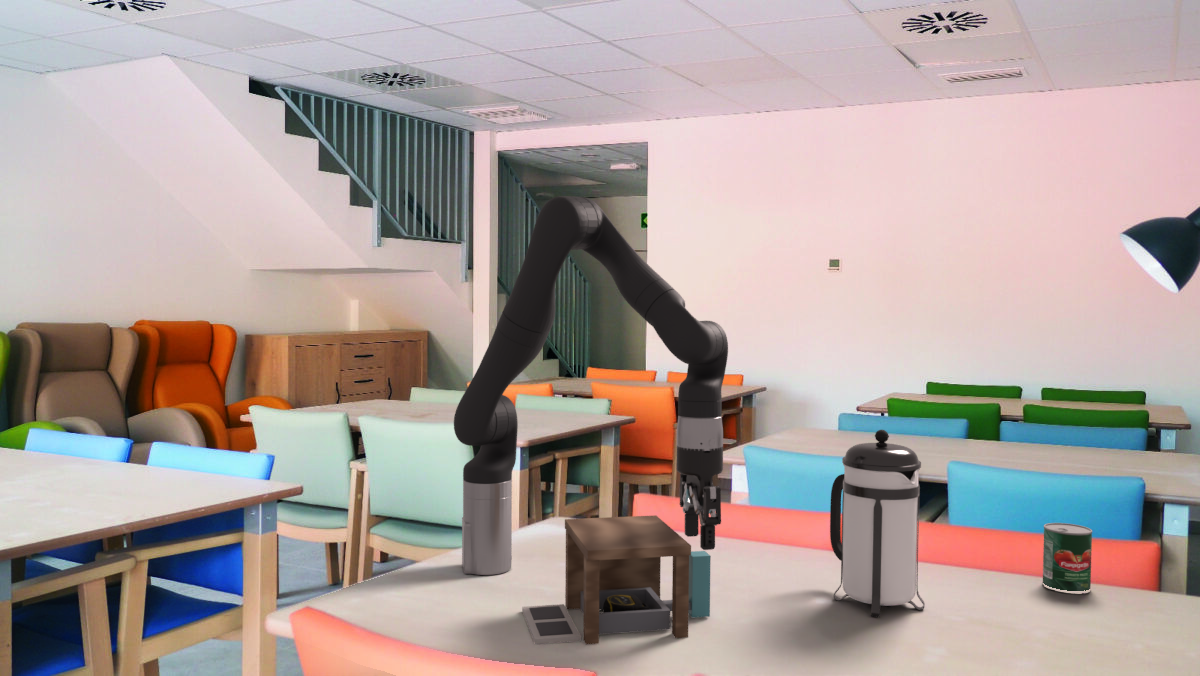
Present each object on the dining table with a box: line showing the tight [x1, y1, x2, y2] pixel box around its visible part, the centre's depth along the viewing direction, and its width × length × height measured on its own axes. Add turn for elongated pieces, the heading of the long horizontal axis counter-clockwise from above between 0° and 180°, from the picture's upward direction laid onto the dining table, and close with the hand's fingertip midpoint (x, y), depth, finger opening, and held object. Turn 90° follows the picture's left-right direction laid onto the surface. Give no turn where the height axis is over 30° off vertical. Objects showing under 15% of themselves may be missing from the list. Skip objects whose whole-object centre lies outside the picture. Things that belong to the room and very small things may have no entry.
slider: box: [579, 550, 712, 635], centre depth 152 cm, size 20×12×10 cm, turn 102°
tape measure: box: [602, 594, 650, 613], centre depth 151 cm, size 7×7×4 cm
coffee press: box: [829, 429, 925, 618], centre depth 160 cm, size 17×16×30 cm
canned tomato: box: [1042, 522, 1093, 591], centre depth 170 cm, size 8×8×11 cm
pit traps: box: [521, 603, 582, 645], centre depth 148 cm, size 7×15×1 cm, turn 12°
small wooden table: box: [564, 515, 692, 645], centre depth 151 cm, size 16×20×14 cm
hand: (699, 542), depth 153 cm, fingers open, 8 cm apart
